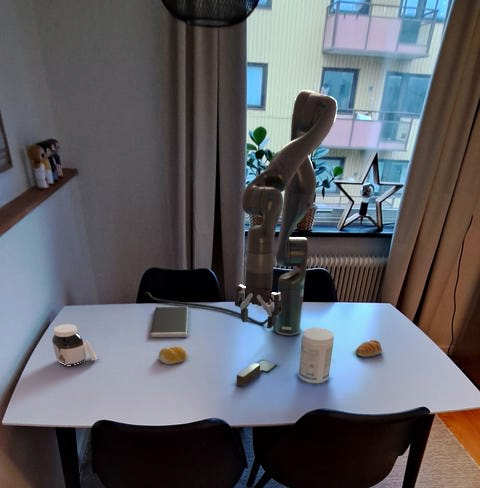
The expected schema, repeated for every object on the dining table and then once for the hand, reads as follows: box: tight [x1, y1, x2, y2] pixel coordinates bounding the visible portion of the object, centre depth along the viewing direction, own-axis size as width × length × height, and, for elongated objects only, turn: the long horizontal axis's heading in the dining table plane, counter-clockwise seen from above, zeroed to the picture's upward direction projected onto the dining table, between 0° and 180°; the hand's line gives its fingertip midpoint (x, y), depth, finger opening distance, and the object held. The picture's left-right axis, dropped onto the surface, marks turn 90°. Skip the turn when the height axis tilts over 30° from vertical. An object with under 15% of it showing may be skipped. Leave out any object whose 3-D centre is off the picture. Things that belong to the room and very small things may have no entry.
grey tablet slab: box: [150, 306, 189, 338], centre depth 183 cm, size 13×27×2 cm, turn 4°
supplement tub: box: [298, 327, 334, 384], centre depth 146 cm, size 10×10×15 cm
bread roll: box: [158, 346, 187, 365], centre depth 158 cm, size 8×9×4 cm
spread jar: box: [51, 323, 98, 368], centre depth 153 cm, size 12×11×12 cm
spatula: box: [236, 359, 277, 388], centre depth 150 cm, size 18×5×3 cm, turn 147°
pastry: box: [355, 339, 383, 358], centre depth 164 cm, size 9×7×4 cm
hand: (257, 324), depth 139 cm, fingers open, 8 cm apart
